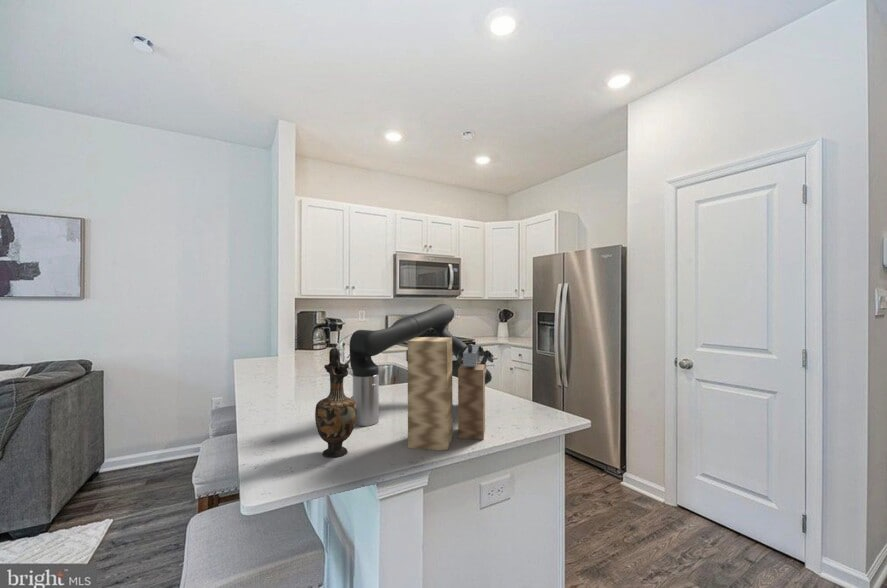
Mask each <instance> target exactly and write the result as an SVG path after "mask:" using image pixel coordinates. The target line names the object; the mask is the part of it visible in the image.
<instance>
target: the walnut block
mask: <svg viewBox="0 0 887 588" xmlns="http://www.w3.org/2000/svg"><path fill="white" fill-rule="evenodd" d="M457 395H458V396H457V404H458V405H457V406H458V407H457V408H458V409H457V410H458V411H457V414H458V416H457V417H458V418H457V421H458V427H457V429H458V430H457V431H458V432H457V433H458V439H462V440H463V439H464V440H465V439H466V440H480V441H482V440H484V438H485V433H486V385H485V364H477V365H476V366H463V364H461V365H460V366H459V367H458V369H457Z"/></svg>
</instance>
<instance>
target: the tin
mask: <svg viewBox="0 0 887 588" xmlns="http://www.w3.org/2000/svg"><path fill="white" fill-rule="evenodd" d="M467 346H468V347H467V348H466V350H465V351H464V353H463V366H476V365H477V363H478V360H479V357H480V355H479V346H481V345H480V344H472V343H468V344H467Z"/></svg>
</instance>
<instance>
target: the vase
mask: <svg viewBox="0 0 887 588" xmlns="http://www.w3.org/2000/svg"><path fill="white" fill-rule="evenodd" d="M328 358H329V363H328V364H325V365H324V370H326V373H328V374H329V380H330V381H329V384H330V385H329V394H328V396H327V397H325V398H324V397H323V399H320V400H318V402H317V403H316V405H315V409H314V419H315V427H316V431H317V434H318V436H319V438H321V440H323V441H324V442H325V443H327V448H326V449H324V450H323V451H322V454H321V455H322V456H323V457H324V458H328V459H331V458H332V459H334V458H341V457H344V456H346V455H347V454H348V453H349V451H348V448H346V447H345V446H343V444H344V442H345V441H346V440H348V439H349V438H350V436H351V435H352V433H353V431H354V428H355V426H356V425H355V421H356V415H357V404H356V402H355V400H353V399H351V397H348V396H346V395H345V391H344V378H345V377H348V375H349V371H348V369H349V368H350V364H348V363H342V362H341V353H340V349H339V348H338V347H332V348H330V350H329V355H328Z"/></svg>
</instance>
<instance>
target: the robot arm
mask: <svg viewBox="0 0 887 588" xmlns="http://www.w3.org/2000/svg"><path fill="white" fill-rule="evenodd" d="M454 318H455V310H454V309H453V307H452V306H450V305H449V304H446V303H440V304H437V305H435V306H433V307H432V308H430V309H427V310H424V311H422V312H417V313H414V314H410V315H408V316H407V315H406V316H405V317H402V318H400V319H397V320H396V321H394V323H393V324H391V326H389V327H386V328H381V329H378V330H377V329H376V330H371V329H358V330H355V331H354V332H353V333H352V334H351V336H350V339H349V363H350V364H349V366H350V369H351V370H352V396H351V397H350V398H351V399H353V400H355V402H356V404H357V415H356V421H355V425H354V426H360V427H365V426H366V427H367V426H368V427H369V426H372V425H376V424H378V423H379V421H380V415H379V414H380V411H379V410H380V409H379V408H380V407H379V406H380V402H379V401H380V399H379V397H380V394H379V391H380V390H379V385H380V384H379V382H380V381H379V380H380V379H379V378H380V375H379V374H380V373H379V369H380V368H379V366H378V364H376V363H375V362H374V361H373V358H372V357H375V356H377V355H379V354H381V353H383V352H384V351H387V350H388V349H390V348H392V347H395V346H396V345H399V344H402V343H405V342H408V341H409V340H411V339H413V338H415V337H420V336H421V335H423V334H425V333H426V332H427V331H428V330H430V329H432V330H433V331H434V332H435V333H436V335H437V336H438V337H441V338H452V355H454V357H455V358H456V362H458V363H459V364H460V366H461V364H463V353H464V351H465V350H466V348H467V347H468V344H466V343H465V342H463V341H462V340H460V339H458V338H457V337H456V336H454V335H453V334H451V332H450V331H449V329H448V327H447V326H448V325H449V324H450V323H451V322H453V321H452V320H453V319H454ZM479 355H480V357H479V360H478V363H477V364H485V386H486V385H487V384H489V383H490V382H492V378H493V376H492V373H491V372H490V371H489V369H488V368H487V362H489V363H494V355H493V353H492V352H491V351H490V350H488V349H486V350H484V347H482V346H481V345H480V346H479Z"/></svg>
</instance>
